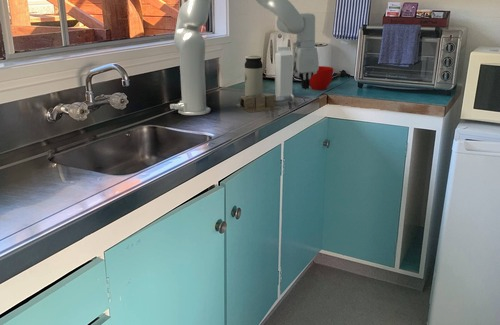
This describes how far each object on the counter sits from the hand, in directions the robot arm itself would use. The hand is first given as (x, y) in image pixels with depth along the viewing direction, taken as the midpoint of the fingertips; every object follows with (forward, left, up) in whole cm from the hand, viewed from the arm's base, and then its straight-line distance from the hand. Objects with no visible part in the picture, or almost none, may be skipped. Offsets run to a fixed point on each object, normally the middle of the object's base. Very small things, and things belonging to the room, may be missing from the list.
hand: (305, 88), depth 214 cm
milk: (-3, +15, -6) cm, 16 cm away
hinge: (-23, 0, -6) cm, 23 cm away
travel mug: (-15, +21, -6) cm, 26 cm away
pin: (-15, 0, -6) cm, 16 cm away
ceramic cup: (+19, +23, -6) cm, 30 cm away
